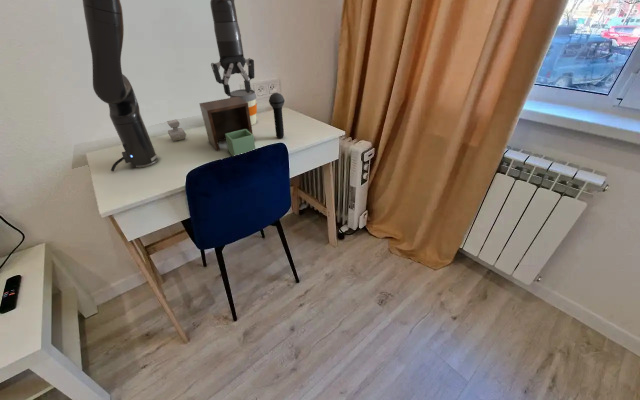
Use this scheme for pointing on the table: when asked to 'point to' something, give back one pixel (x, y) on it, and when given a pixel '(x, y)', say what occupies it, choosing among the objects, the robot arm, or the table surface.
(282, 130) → the microphone
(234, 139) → the basket
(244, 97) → the reusable coffee cup
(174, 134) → the stamp
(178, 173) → the table surface
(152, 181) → the table surface
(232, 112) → the cubby
